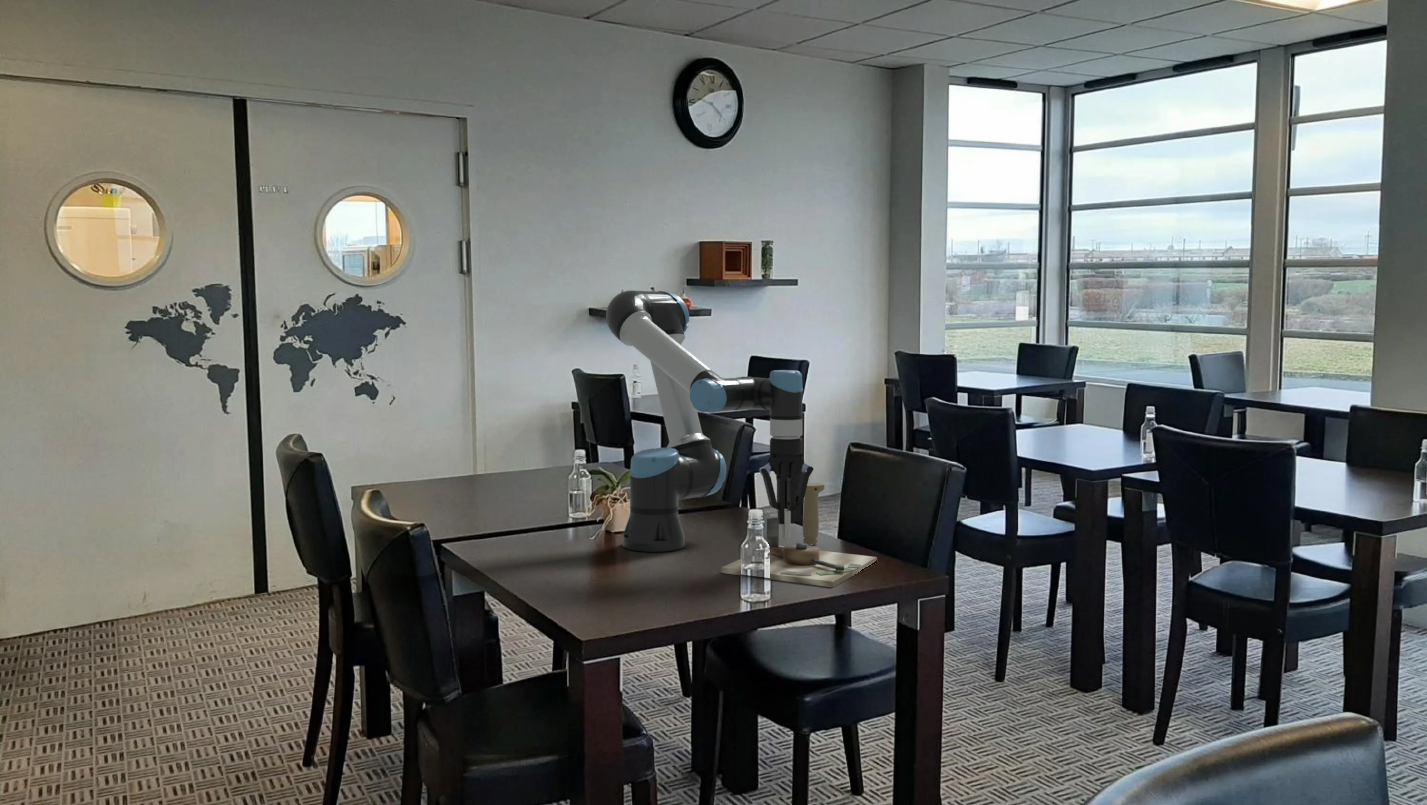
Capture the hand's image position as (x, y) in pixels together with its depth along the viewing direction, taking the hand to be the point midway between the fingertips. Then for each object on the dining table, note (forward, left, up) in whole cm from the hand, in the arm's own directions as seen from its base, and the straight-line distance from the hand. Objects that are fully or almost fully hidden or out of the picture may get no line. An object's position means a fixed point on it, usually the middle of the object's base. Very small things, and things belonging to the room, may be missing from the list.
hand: (785, 537), depth 259 cm
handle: (-1, +17, -5) cm, 18 cm away
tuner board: (+7, -8, -5) cm, 11 cm away
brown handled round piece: (+8, -8, -3) cm, 12 cm away
